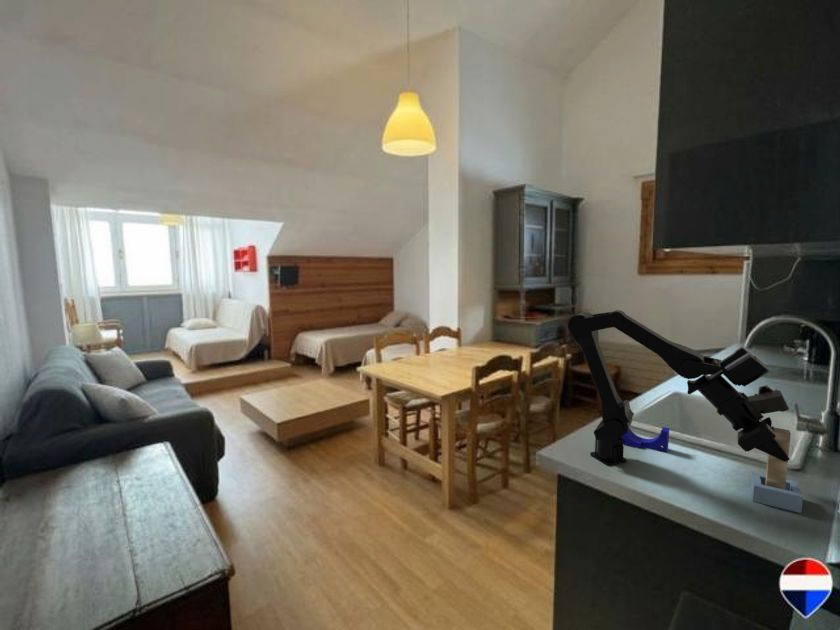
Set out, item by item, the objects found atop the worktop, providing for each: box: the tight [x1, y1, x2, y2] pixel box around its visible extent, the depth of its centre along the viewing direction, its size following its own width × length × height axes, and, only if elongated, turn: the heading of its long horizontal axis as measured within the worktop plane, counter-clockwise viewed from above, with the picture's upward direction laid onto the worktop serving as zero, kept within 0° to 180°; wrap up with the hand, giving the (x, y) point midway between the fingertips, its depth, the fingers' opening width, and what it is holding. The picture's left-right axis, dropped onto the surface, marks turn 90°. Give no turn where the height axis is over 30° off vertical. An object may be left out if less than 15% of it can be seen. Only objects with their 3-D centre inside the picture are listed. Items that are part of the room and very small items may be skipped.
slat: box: [765, 427, 792, 490], centre depth 85 cm, size 3×2×13 cm, turn 54°
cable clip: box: [621, 426, 670, 454], centre depth 112 cm, size 12×4×6 cm, turn 50°
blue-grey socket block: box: [749, 471, 804, 514], centre depth 86 cm, size 8×7×4 cm
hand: (786, 458), depth 84 cm, fingers closed on slat, 2 cm apart
